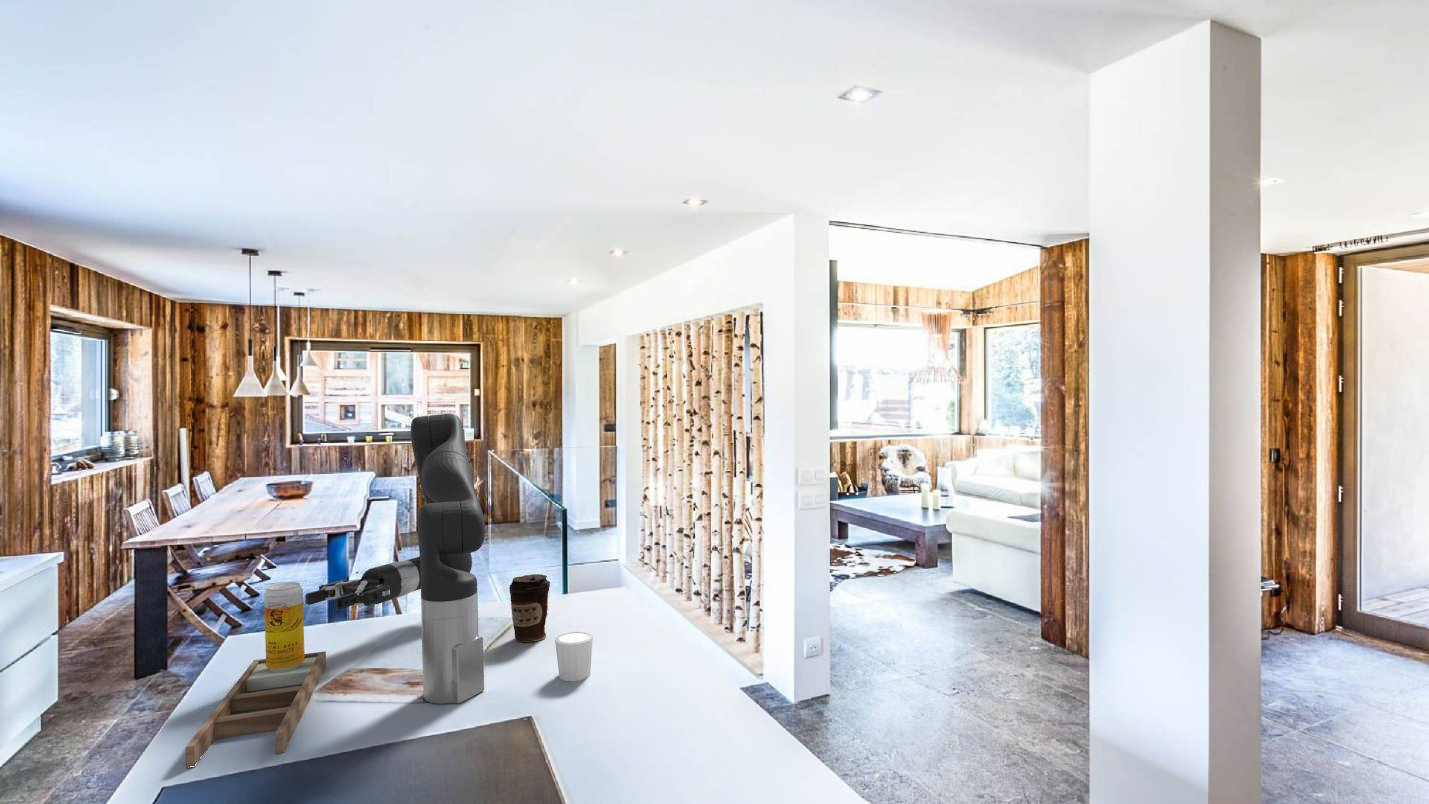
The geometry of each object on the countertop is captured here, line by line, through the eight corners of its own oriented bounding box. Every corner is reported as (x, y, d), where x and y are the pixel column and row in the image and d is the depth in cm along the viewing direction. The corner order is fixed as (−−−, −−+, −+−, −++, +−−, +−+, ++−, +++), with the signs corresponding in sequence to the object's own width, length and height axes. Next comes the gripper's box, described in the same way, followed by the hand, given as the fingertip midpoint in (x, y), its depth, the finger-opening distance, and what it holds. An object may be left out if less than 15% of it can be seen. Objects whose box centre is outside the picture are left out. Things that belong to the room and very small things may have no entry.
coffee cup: (545, 645, 149) (543, 582, 149) (505, 645, 149) (503, 583, 149) (555, 631, 158) (553, 572, 157) (517, 632, 158) (515, 572, 158)
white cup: (589, 682, 129) (588, 643, 129) (551, 683, 129) (550, 644, 129) (597, 667, 136) (596, 630, 136) (560, 668, 136) (559, 631, 136)
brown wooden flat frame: (254, 676, 135) (253, 660, 135) (326, 666, 139) (325, 651, 139) (186, 768, 101) (185, 747, 101) (283, 752, 105) (283, 732, 105)
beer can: (260, 675, 129) (258, 591, 129) (273, 662, 135) (271, 582, 135) (298, 671, 130) (296, 588, 130) (309, 659, 136) (307, 580, 136)
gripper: (366, 561, 157) (296, 579, 142) (414, 566, 151) (345, 586, 136) (367, 595, 157) (297, 617, 142) (415, 602, 151) (347, 625, 136)
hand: (321, 601), depth 139 cm, fingers open, 8 cm apart
